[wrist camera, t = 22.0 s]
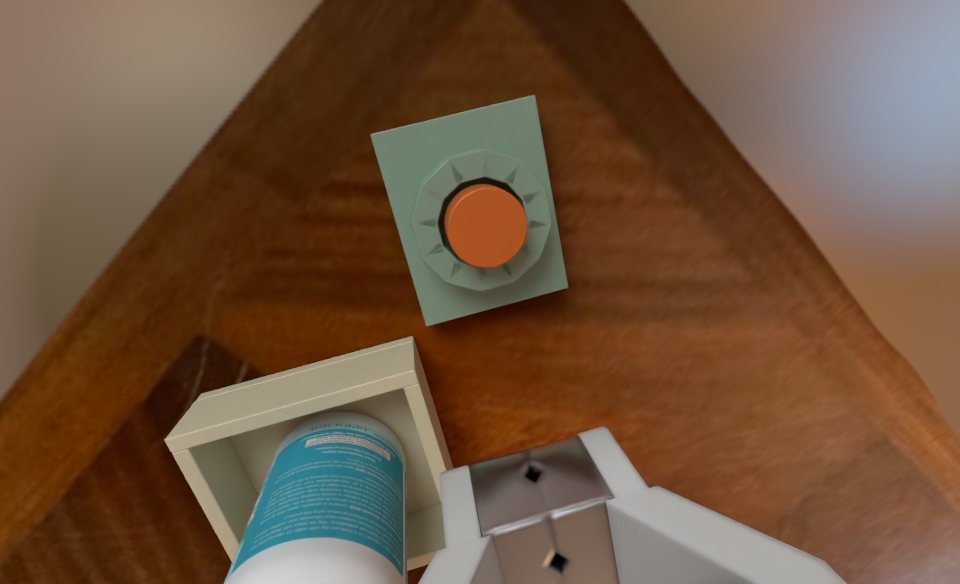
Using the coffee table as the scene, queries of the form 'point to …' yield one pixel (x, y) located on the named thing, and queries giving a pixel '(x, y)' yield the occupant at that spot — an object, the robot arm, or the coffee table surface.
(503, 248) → the button
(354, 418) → the pill bottle
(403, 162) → the panel
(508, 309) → the coffee table surface
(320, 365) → the cream square open box
